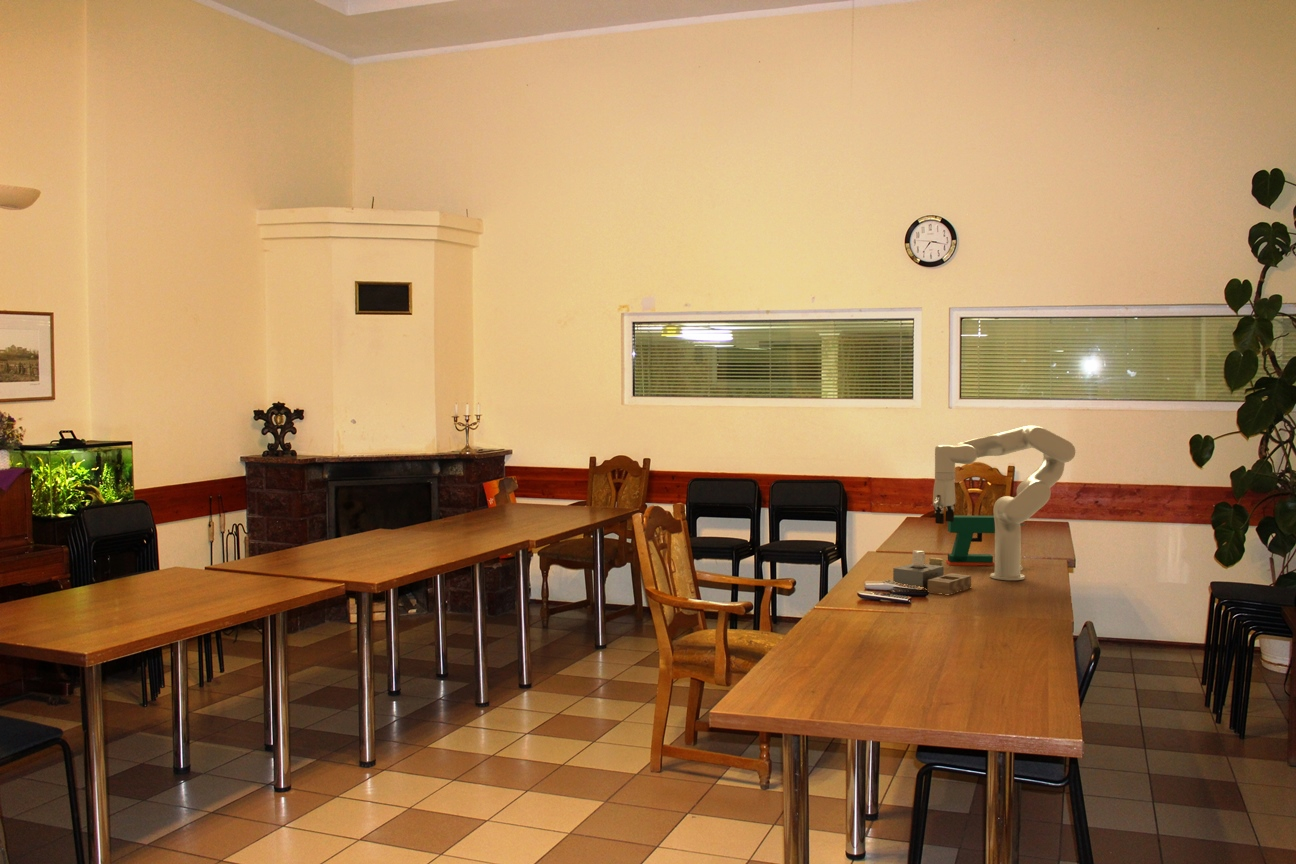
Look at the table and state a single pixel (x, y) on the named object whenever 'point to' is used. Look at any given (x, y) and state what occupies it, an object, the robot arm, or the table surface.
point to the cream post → (919, 559)
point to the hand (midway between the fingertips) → (944, 522)
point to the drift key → (936, 561)
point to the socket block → (917, 574)
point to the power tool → (970, 539)
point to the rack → (949, 583)
